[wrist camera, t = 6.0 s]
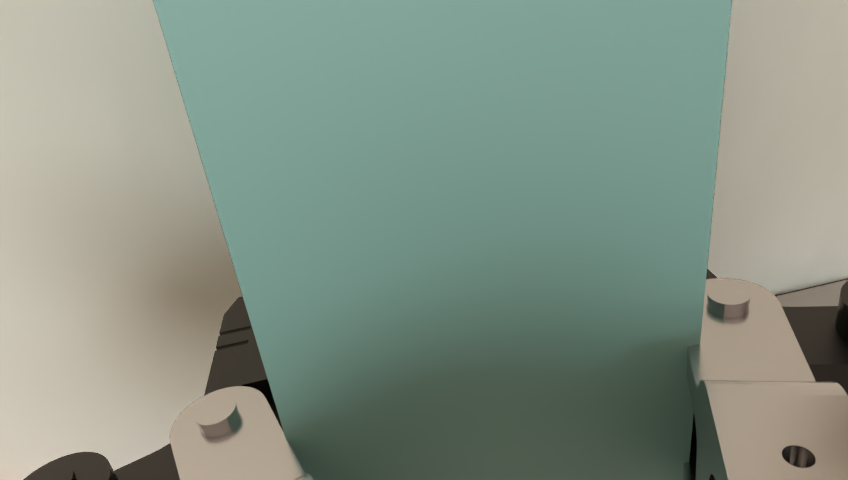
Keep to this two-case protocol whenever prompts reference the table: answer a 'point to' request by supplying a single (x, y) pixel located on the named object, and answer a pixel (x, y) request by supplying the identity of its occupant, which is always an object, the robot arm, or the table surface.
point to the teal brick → (465, 223)
